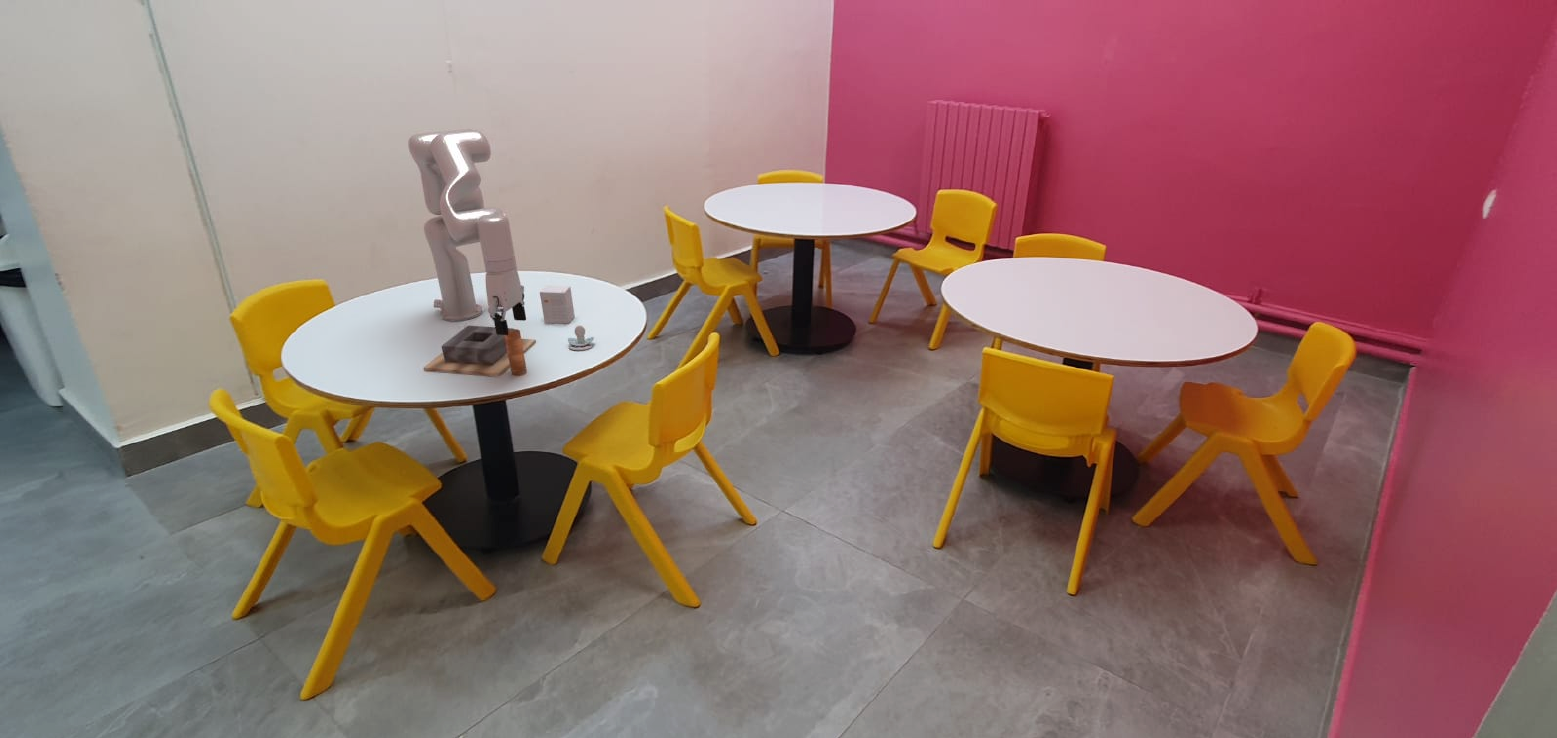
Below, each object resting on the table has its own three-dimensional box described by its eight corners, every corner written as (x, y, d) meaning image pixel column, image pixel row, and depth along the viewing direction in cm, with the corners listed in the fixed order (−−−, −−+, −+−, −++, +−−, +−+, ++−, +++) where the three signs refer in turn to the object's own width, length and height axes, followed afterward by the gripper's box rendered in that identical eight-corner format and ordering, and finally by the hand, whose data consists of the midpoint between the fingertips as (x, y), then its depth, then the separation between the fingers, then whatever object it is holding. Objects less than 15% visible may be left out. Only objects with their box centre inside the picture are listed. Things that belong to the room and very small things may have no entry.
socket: (424, 370, 201) (419, 350, 198) (466, 337, 221) (462, 319, 218) (500, 376, 198) (496, 356, 196) (536, 342, 218) (533, 323, 215)
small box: (575, 317, 235) (571, 286, 230) (569, 324, 230) (564, 292, 225) (550, 316, 235) (546, 285, 231) (544, 323, 231) (539, 291, 226)
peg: (508, 375, 199) (501, 334, 193) (515, 368, 202) (508, 328, 197) (522, 376, 198) (515, 335, 193) (529, 369, 202) (522, 329, 196)
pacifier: (592, 351, 213) (595, 342, 218) (590, 331, 210) (592, 323, 215) (566, 352, 212) (570, 343, 218) (563, 332, 209) (567, 323, 215)
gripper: (502, 253, 195) (513, 314, 202) (468, 274, 179) (481, 339, 187) (529, 254, 194) (539, 315, 201) (497, 276, 178) (509, 341, 186)
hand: (511, 327), depth 194 cm, fingers open, 9 cm apart
